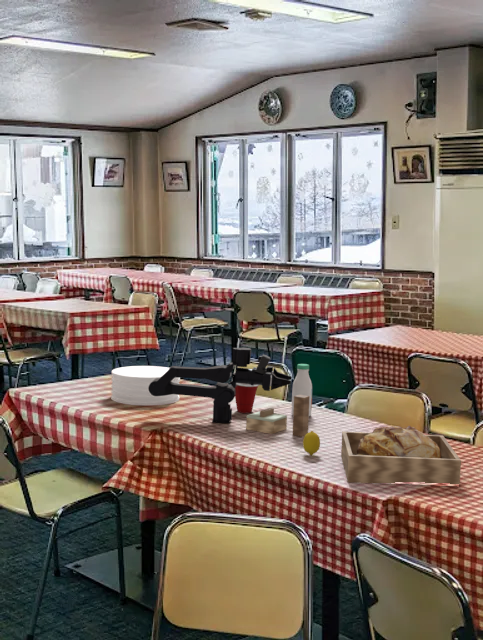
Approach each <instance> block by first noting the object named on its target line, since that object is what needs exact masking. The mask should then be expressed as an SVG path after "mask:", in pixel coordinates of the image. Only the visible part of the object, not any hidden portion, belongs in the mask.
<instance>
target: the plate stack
mask: <svg viewBox="0 0 483 640" xmlns="http://www.w3.org/2000/svg"><path fill="white" fill-rule="evenodd" d="M170 368H171V367H166V366H158V365H157V366H156V365H131V366H121V367H116V368H113V369H112V370H111V391H110V393H111V400H112V401H113V402H116V403H118V404H123V405H129V406H131V405H132V406H163V405H170V404H173V403H177V402H178V401H180V395H177V394H171V395H165V396H153V395H151V393H150V392H149V385H150V383H151V382H152V381H153V380H154V379H156V378H161V377H162V376H163V375H164V374H165V373H166V372H167V371H168V370H169V369H170ZM180 379H181V378H177V377H176V378H174V379H173V380H172V381H171V382H173V383H178V384H180V382H181V381H180Z"/></svg>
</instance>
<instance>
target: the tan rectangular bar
mask: <svg viewBox="0 0 483 640" xmlns="http://www.w3.org/2000/svg"><path fill="white" fill-rule="evenodd" d="M292 417H293V418H292V436H295V437H299V438H304V437H305V435H306V434H307V433H309V418H310V416H309V396H306V395H297V396H294V410H293V415H292Z"/></svg>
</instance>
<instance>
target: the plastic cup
mask: <svg viewBox="0 0 483 640" xmlns="http://www.w3.org/2000/svg"><path fill="white" fill-rule="evenodd" d="M259 386H260V385H254V386H253V385H251V384H243V383H236V388H235V390H236V395H235V397H234V399H235V404H236V405H235V406H236V410H237V412H238V413H242V414H247V413H248V414H249V413H250V414H251V413H252V411H253V408H254V403H255V399H256V393H257V390H258V387H259Z"/></svg>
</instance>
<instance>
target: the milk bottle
mask: <svg viewBox="0 0 483 640" xmlns="http://www.w3.org/2000/svg"><path fill="white" fill-rule="evenodd" d="M296 369H297V373H296V376H295V378H294V380H293V383H292V395H291V416H293V410H294V396H297V395H306V396H309V417H311V416H312V410H313V409H312V407H313V406H312V405H313V383H312V380H311V378H310V375H309V374H310V373H309V371H310V364H307V363H298V364H297V366H296Z"/></svg>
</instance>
